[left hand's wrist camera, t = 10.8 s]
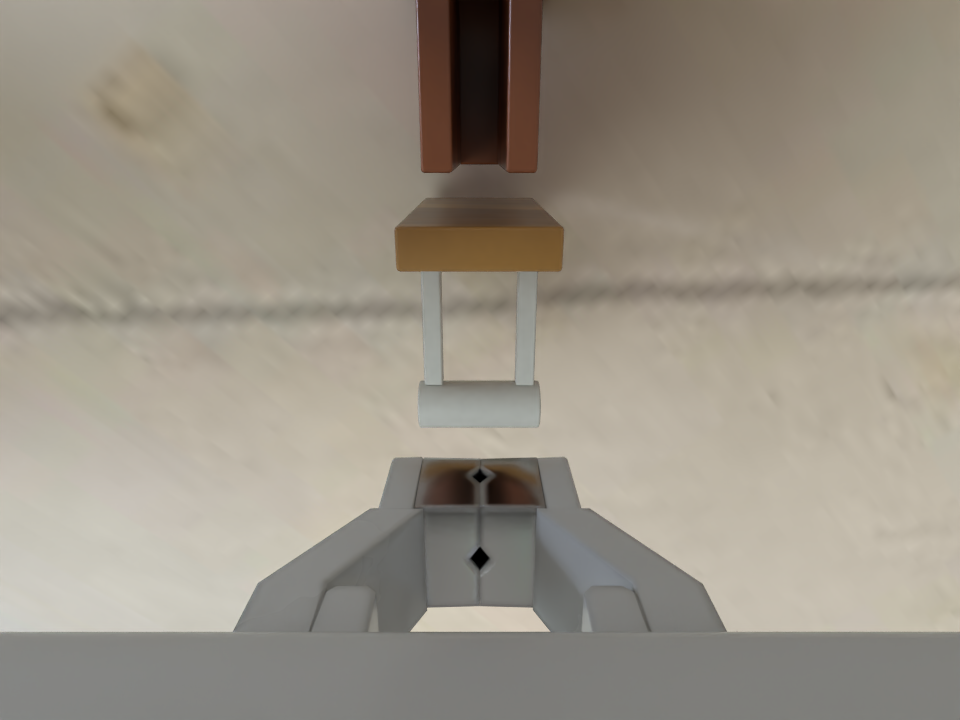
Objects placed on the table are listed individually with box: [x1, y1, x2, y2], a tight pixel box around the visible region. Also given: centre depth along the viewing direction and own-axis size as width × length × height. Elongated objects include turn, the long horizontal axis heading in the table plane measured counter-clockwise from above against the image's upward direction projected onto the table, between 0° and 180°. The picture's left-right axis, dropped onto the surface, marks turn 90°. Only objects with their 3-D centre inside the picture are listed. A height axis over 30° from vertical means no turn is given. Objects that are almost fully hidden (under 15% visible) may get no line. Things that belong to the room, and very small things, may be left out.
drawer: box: [395, 0, 564, 428], centre depth 18 cm, size 22×4×9 cm, turn 0°
